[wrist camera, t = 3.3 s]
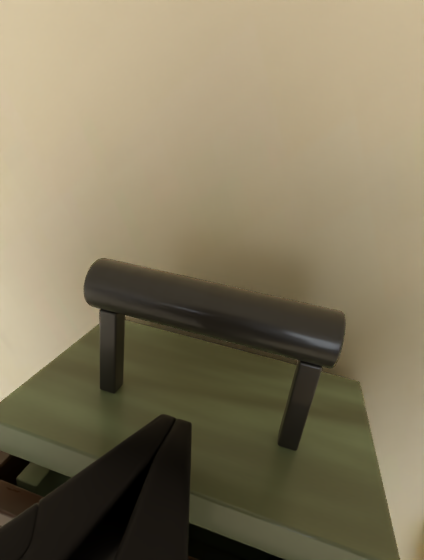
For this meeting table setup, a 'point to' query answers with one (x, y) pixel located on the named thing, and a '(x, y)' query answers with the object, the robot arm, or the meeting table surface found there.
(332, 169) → the meeting table surface
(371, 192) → the meeting table surface
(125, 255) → the meeting table surface
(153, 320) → the drawer
